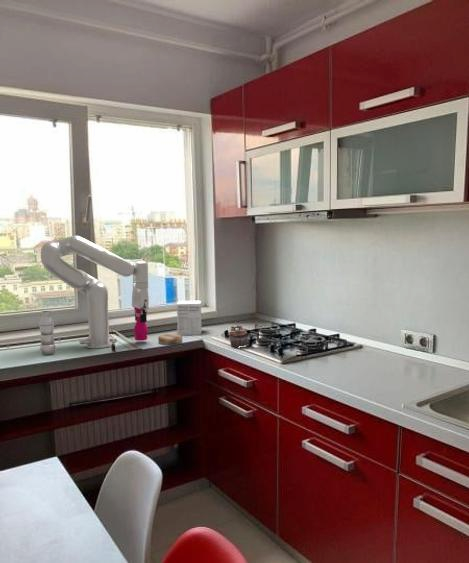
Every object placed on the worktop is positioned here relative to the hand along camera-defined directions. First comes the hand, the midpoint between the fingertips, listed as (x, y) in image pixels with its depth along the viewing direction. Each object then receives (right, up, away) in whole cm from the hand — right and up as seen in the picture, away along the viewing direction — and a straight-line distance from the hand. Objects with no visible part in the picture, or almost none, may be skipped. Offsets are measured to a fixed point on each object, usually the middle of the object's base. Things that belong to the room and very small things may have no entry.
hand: (140, 321), depth 235 cm
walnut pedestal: (+15, -11, +1) cm, 18 cm away
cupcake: (+50, -12, -11) cm, 52 cm away
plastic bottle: (-38, -14, -22) cm, 46 cm away
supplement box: (+23, -9, +25) cm, 35 cm away
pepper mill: (0, -10, +1) cm, 10 cm away
